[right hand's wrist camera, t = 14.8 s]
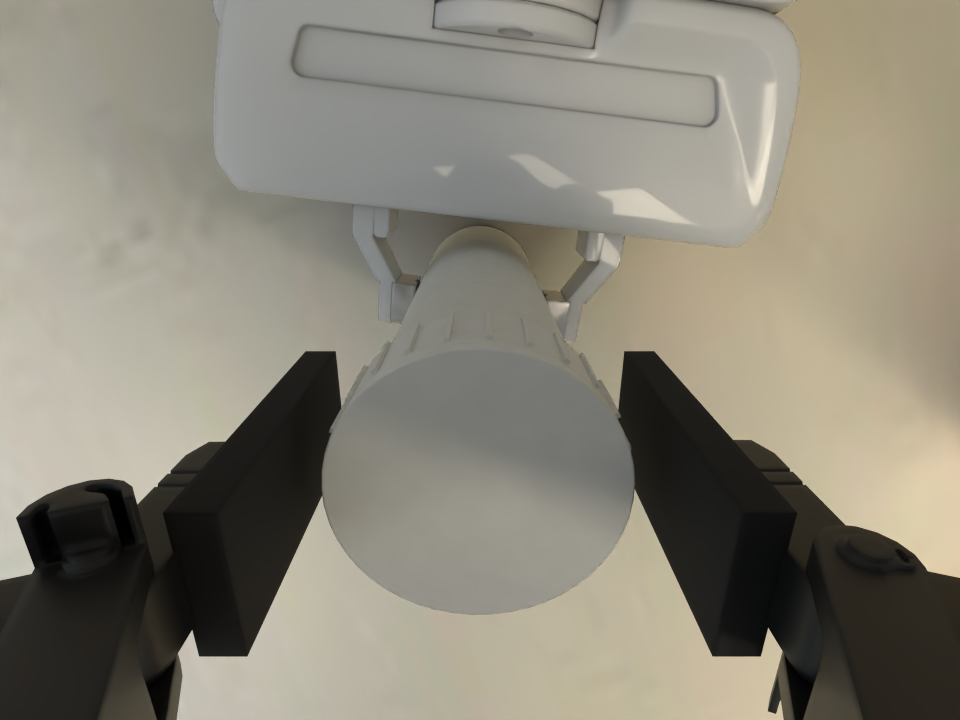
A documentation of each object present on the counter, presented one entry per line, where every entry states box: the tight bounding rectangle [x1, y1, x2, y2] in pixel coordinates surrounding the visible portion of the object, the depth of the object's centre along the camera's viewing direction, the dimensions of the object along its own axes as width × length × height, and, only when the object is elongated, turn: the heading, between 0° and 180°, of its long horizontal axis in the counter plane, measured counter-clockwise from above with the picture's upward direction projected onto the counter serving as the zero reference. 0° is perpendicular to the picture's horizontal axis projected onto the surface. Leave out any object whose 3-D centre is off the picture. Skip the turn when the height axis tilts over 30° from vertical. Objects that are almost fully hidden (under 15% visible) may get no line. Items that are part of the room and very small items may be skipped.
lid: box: [322, 311, 635, 615], centre depth 11 cm, size 6×6×2 cm
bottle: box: [393, 226, 565, 342], centre depth 19 cm, size 5×5×19 cm
